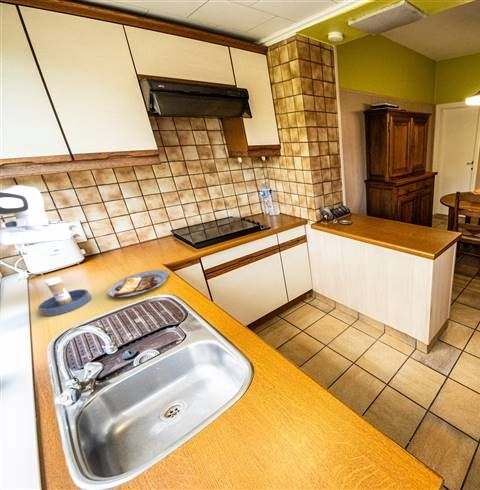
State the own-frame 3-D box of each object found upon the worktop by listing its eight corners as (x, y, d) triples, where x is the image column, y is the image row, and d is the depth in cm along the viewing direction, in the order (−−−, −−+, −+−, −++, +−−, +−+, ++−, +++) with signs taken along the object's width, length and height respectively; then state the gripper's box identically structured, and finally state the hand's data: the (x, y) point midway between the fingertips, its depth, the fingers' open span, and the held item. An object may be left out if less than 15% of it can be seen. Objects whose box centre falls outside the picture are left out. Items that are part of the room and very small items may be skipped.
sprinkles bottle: (58, 308, 117) (41, 283, 112) (63, 303, 121) (47, 278, 116) (72, 305, 119) (56, 280, 114) (76, 300, 123) (61, 275, 118)
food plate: (161, 293, 126) (158, 287, 125) (100, 306, 119) (96, 299, 117) (174, 270, 148) (172, 264, 146) (123, 279, 140) (120, 274, 139)
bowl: (42, 321, 110) (37, 314, 109) (42, 307, 120) (38, 300, 118) (93, 303, 121) (89, 297, 119) (89, 291, 130) (86, 285, 129)
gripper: (68, 220, 128) (74, 248, 130) (-4, 224, 113) (5, 256, 115) (68, 220, 124) (74, 249, 126) (-7, 224, 109) (2, 257, 111)
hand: (40, 252), depth 120 cm, fingers open, 8 cm apart
